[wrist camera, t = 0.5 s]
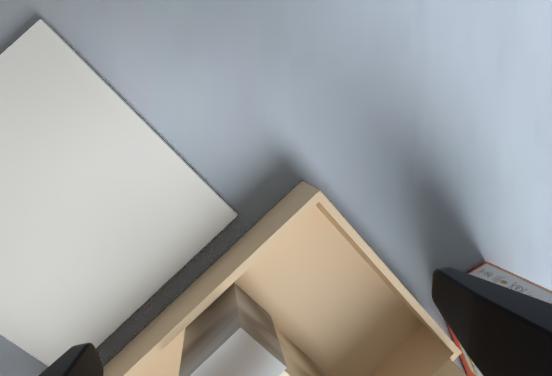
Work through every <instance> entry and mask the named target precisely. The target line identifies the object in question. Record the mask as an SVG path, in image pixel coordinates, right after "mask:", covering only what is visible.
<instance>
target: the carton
mask: <svg viewBox="0 0 552 376" xmlns="http://www.w3.org/2000/svg"><path fill="white" fill-rule="evenodd" d="M233 283H235V284H237V285H238V286H239V287H240V288H241V289H242V290H243V291H244V292H245V293H246V294H247V295H249V296H250V297H251V298H252V299H253V300H254V301H255V302H256V303H257V304H258V305H260V306H261V307H262V308H263V309H264V310H265V311H266V312H267V313H268V314H269V315H270V316H271V318H272V321H273V324H274V326H275V327H276V328H277V329H278V330H279V331H280V332H281V333H282V334H284V335H285V336H286V337H287V338H288V339H289V340H290V341H291V342H292V343H293V344H295V345H296V346H297V347H298V348H299V349H300V350H301V351H302V352H303V353H304V354H306V355H307V356H308V357H309V358H310V359H311V360H312V361H313V362H314V363H316V364H317V365H318V366H319V367H320V368H321V369H322V370H323V371H324V372H325V373H327V374H328V375H329V376H467V375H466V374H465V373H464V372H463V371H462V370H461V369H460V368H459V367H458V366H457V365H456V364H455V363H454V362H453V361H454V360H455V359H456V358H457V357H458V356H459V355H460V354H461V353H462V352H461V351H460V349H459V348H458V347H457V346H456V345H455V344H454V343H453V341H452V340H451V339H450V338H449V337H448V336H447V335H446V333H445V332H444V331H443V330H442V329H441V328H440V327H439V326H438V324H437V323H436V322H435V321H434V320H433V319H432V318H431V316H430V315H429V314H428V313H427V312H426V311H425V310H424V308H423V307H422V306H421V305H420V304H419V303H418V302H417V300H416V299H415V298H414V297H413V296H412V295H411V294H410V292H409V291H408V290H407V289H406V288H405V287H404V286H403V284H402V283H401V282H400V281H399V280H398V279H397V278H396V276H395V275H394V274H393V273H392V272H391V271H390V270H389V268H388V267H387V266H386V265H385V264H384V263H383V262H382V261H381V259H380V258H379V257H378V256H377V255H376V254H375V253H374V251H373V250H372V249H371V248H370V247H369V246H368V245H367V243H366V242H365V241H364V240H363V239H362V238H361V237H360V235H359V234H358V233H357V232H356V231H355V230H354V229H353V227H352V226H351V225H350V224H349V223H348V222H347V221H346V219H345V218H344V217H343V216H342V215H341V214H340V213H339V211H338V210H337V209H336V208H335V207H334V206H333V205H332V203H331V202H330V201H329V200H328V199H327V198H326V197H325V195H324V194H323V193H322V192H321V191H320V190H318V189H317V188H315V187H313V186H311V185H309V184H308V183H306V182H304V181H301V182H300V183H299V184H297V185H296V186H295V187H294V188H293V189H292V190H291V191H290V192H289V193H288V194H287V195H286V196H285V197H284V198H283V199H281V200H280V201H279V202H278V203H277V204H276V205H275V206H274V207H273V208H272V209H271V210H270V211H269V212H268V213H267V214H265V215H264V216H263V217H262V218H261V219H260V220H259V221H258V222H257V223H256V224H255V225H254V226H253V227H252V228H251V229H250V230H248V231H247V232H246V233H245V234H244V235H243V236H242V237H241V238H240V239H239V240H238V241H237V242H236V243H235V244H234V245H232V246H231V247H230V248H229V249H228V250H227V251H226V252H225V253H224V254H223V255H222V256H221V257H220V258H219V259H218V260H216V261H215V262H214V263H213V264H212V265H211V266H210V267H209V268H208V269H207V270H206V271H205V272H204V273H203V274H202V275H201V276H199V277H198V278H197V279H196V280H195V281H194V282H193V283H192V284H191V285H190V286H189V287H188V288H187V289H186V290H185V291H183V292H182V293H181V294H180V295H179V296H178V297H177V298H176V299H175V300H174V301H173V302H172V303H171V304H170V305H169V306H167V307H166V308H165V309H164V310H163V311H162V312H161V313H160V314H159V315H158V316H157V317H156V318H155V319H154V320H153V321H151V322H150V323H149V324H148V325H147V326H146V327H145V328H144V329H143V330H142V331H141V332H140V333H139V334H138V335H137V336H136V337H134V338H133V339H132V340H131V341H130V342H129V343H128V344H127V345H126V346H125V347H124V348H123V349H122V350H121V351H120V352H118V353H117V354H116V355H115V356H114V357H113V358H112V359H111V360H110V361H109V362H108V363H107V364H106V365H105V366H104V367H103V369H104V375H103V376H179V370H180V363H181V355H182V348H183V341H184V334H185V328H186V327H187V326H189V325H190V324H191V323H192V322H193V321H194V320H195V319H196V318H197V317H198V316H199V315H200V314H201V313H202V312H203V311H204V310H206V309H207V308H208V307H209V306H210V305H211V304H212V303H213V302H214V301H215V300H216V299H217V298H218V297H219V296H220V295H221V294H222V293H224V292H225V291H226V290H227V289H228V288H229V287H230V286H231V285H232V284H233Z"/></svg>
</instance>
